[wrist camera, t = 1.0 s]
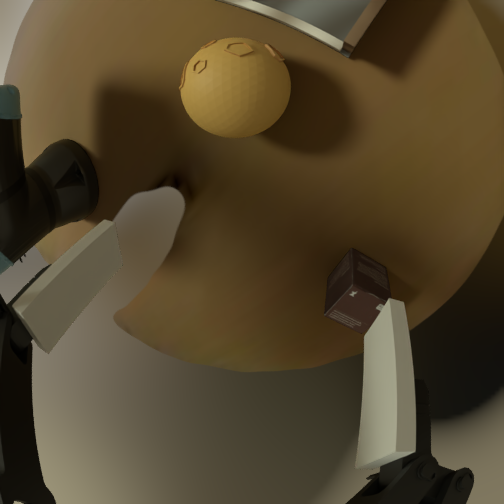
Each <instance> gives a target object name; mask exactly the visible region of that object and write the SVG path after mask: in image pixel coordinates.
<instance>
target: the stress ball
mask: <svg viewBox="0 0 504 504" xmlns="http://www.w3.org/2000/svg"><path fill="white" fill-rule="evenodd" d="M284 60H285V59H284V57H283V56H282V55H281V54H280V53H279V52H278V51H277V50H276V49H275V48H273V47H272V46H271V45H270V44H263V43H261V42H258V41H255V40H252V39H247V38H226V39H221V40H218V41H217V40H214V41H211V42H209V43H207V44H205V45H204V46H202V47H201V50H199V51H198V52H197V53H196V54H195V55H194V56H193V57H192V59H191V60H190V61H187V63H186V65H185V67H184V69H183V72H182V76H181V82H180V87H179V91H181V98H182V102H183V105H184V107H185V109H186V111H187V113H188V114H189V116H190V117H191V119H192V120H193V121H194V122H195V123H196V124H197V125H198V126H200V127H201V128H202V129H204V130H206V131H207V132H209V133H212V134H214V135H217V136H220V137H226V138H244V137H249V136H253V135H256V134H258V133H260V132H262V131H264V130H266V129H267V128H269V127H270V126H272V125H273V124H274V123H275V122H276V121H277V120H278V119H279V118H280V117H281V115H282V114H283V112H284V111H285V109H286V107H287V104H288V102H289V98H290V93H291V80H290V76H289V72H288V70H287V67H286V65H285V64H284V62H283V61H284Z"/></svg>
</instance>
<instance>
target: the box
mask: <svg viewBox="0 0 504 504" xmlns="http://www.w3.org/2000/svg"><path fill="white" fill-rule="evenodd" d="M389 298H391V292H390V286H389V280H388V276H387V270H386V267H384V266H382V265H381V264H379V263H377V262H376V261H374V260H372V259H370V258H369V257H367V256H365V255H363V254H362V253H360V252H358V251H357V250H355V249H353V248H351V249H350V250H349V252H348V253H347V254H346V255H345V257H344V258H343V259H342V260H341V262H340V263H339V264H338V266H337V267H336V268H335V269H334V271H333V272H332V273H331V274H330V276H329V277H328V280H327V292H326V301H325V311H324V316H326V317H328V318H330V319H332V320H334V321H336V322H338V323H340V324H342V325H344V326H346V327H349V328H351V329H353V330H355V331H357V332H359V333H361V334H362V333H363V332H365V331H366V330H367V329H368V328H369V327H370V326H371V325H372V324H373V323H374V321H375V320H376V318H377V317H378V315H379V314H380V312H381V310H382V309H383V307H384V306H385V304H386V302H387V301H388V299H389ZM391 299H392V298H391Z"/></svg>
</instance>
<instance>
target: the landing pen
mask: <svg viewBox="0 0 504 504" xmlns="http://www.w3.org/2000/svg"><path fill="white" fill-rule="evenodd" d="M216 1H220V2H223V3H226V4H230V5H233V6H236V7H239V8H242V9H245V10H248V11H251V12H254V13H256V14H259V15H262V16H264V17H267V18H269V19H272V20H274V21H277V22H279V23H282V24H284V25H286V26H288V27H291V28H293V29H295V30H297V31H299V32H301V33H303V34H305V35H307V36H309V37H311V38H313V39H315V40H317V41H319V42H321V43H323V44H325V45H327V46H328V47H330V48H332V49H334V50H335V51H337V52H339V53H341V54H342V55H344V56H346V57H347V58H348V57H349V56H350V54H351V53H352V51H353V50H354V48H355V47H356V45H357V44H358V42H359V41H360V39H361V38H362V36H363V35H364V33H365V32H366V31H367V29H368V28H369V26H370V25H371V23H372V22H373V20H374V19H375V17H376V16H377V14H378V13H379V11H380V10H381V9H382V7H383V6H384V4H385V3H386V1H387V0H216Z"/></svg>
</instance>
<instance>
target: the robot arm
mask: <svg viewBox="0 0 504 504" xmlns="http://www.w3.org/2000/svg"><path fill="white" fill-rule="evenodd" d="M21 118H22V114H21V111H20V93H19V90H18V88H17V87H16V86H14V85H0V274H2V273H3V272H4V271H5V270H6V269H8V268H9V267H10V266H13V265H14V263H15V262H16V261H17V260H18V259H19V258H21V257H22V256H23V255H24V254H25V253H26V252H27V251H28V250H29V249H31V248H32V247H33V246H34V245H35V244H36V243H38V242H39V241H40V240H41V239H42V238H43V237H45V236H46V235H47V234H48V233H50V232H51V231H52V230H54V229H55V228H57V227H60V226H63V225H66V224H68V223H71V222H78V221H81V220H83V219H84V218H85V217H87V216H88V215H89V214H91V213H92V212H93V211H94V209H95V207H96V205H97V201H98V182H97V177H96V173H95V170H94V168H93V165H92V163H91V161H90V159H89V157H88V156H87V154H86V153H85V151H84V150H83V149H82V148H81V147H80V146H79V145H78V144H77V143H75V142H73V141H71V140H68V139H63V140H60V141H57V142H55V143H53V144H51V145H49V146H48V147H47V148H46V149H45V150H44V151H43V153H42V154H41V155H39V156H38V157H37V158H36V159H35V160H34V161H33V162H32V163H31V164H30V165H29V166H28V167H26V168H25V166H24V159H23V150H22V138H21ZM122 266H123V263H122V258H121V252H120V248H119V242H118V236H117V231H116V225H115V222H112V221H108V220H105V219H104V220H103V221H102V222H100V223H99V224H98V225H97V226H96V227H94V228H93V229H92V230H91V231H89V232H88V233H87V234H86V235H85V236H84V237H82V238H81V239H80V240H79V241H78V242H77V243H75V244H74V245H73V246H72V247H71V248H70V249H69V250H67V251H66V252H65V253H64V254H63V255H62V256H61V257H60V258H59V259H58V260H57V261H55V262H54V263H53V264H50V265H48V266H47V267H45V268H43V269H42V270H41V271H40V272H38V273H37V274H36V275H35V278H32V279H31V280H30V281H29V283H27V284H26V285H25V286H24V287H23V288H22V289H21V291H20V292H19V293H18V294H17V295H16V296H15V297H14V298H13V299H12V300H11V301H10V302H9V303H8V304H7V305H6V303H5V301H4V299H3V298H2V296H1V294H0V504H13V503H14V501H18V502H21V503H24V504H56V502H55V499H54V496H53V495H52V493H51V492H50V491H49V489H48V488H47V487H46V485H45V483H44V480H43V476H42V471H41V467H40V461H39V456H38V450H37V444H36V436H35V428H34V417H33V405H32V343H31V341H32V339H34V341H35V342H36V344H37V345H38V346H39V347H40V348H41V349H42V350H44V351H45V352H46V353H48V354H49V353H50V351H51V350H52V349H53V347H54V346H55V345H56V343H57V342H58V341H59V340H60V338H61V337H62V336H63V334H64V333H65V332H66V331H67V329H68V328H69V327H70V326H71V324H72V323H73V322H74V321H75V319H76V318H77V317H78V316H79V315H80V313H81V312H82V311H83V310H84V309H85V307H86V306H87V305H88V304H89V303H90V301H91V300H92V299H93V298H94V297H95V296H96V294H97V293H98V292H99V291H100V290H101V289H102V288H103V287H104V285H105V284H106V283H107V282H108V281H109V280H110V279H111V278H112V277H113V275H114V274H115V273H116V272H117V271H118V270H119V269H120V268H121V267H122ZM429 404H430V402H429V391H428V389H427V387H426V384H425V382H424V380H419V379H414V372H413V362H412V354H411V345H410V337H409V330H408V323H407V317H406V311H405V306H404V302H402V301H398V300H394V299H391V298H389V299H388V301H387V302H386V304H385V306H384V307H383V309H382V310H381V312H380V314H379V315H378V317H377V318H376V320H375V321H374V323H373V324H372V326H371V327H370V329H369V330H368V332H367V333H366V335H365V336H364V377H363V397H362V411H361V423H360V432H359V441H358V450H357V457H356V464H355V468H356V469H375V468H377V467H380V472H379V473H376V474H373V475H370V476H369V477H367V478H366V479H367V480H369V479H372V480H371V481H370V482H369V483H368V484H367V485H366V486H365V487H363V488H362V489H361V490H360V491H359V492H358V493H357V494H356V495H355V496H354V497H353V498H351V499H350V500H349V501H348V502H347V503H346V504H466V502H467V500H468V498H469V495H470V493H471V490H472V487H473V483H474V475H473V473H472V471H471V470H470V469H469V468H462V469H459V470H456V471H454V470H451V469H447V468H445V467H442V466H439V465H438V462H437V460H436V459H435V458H434V457H433V456H432V454H431V421H430V416H429V415H430V406H429Z"/></svg>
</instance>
